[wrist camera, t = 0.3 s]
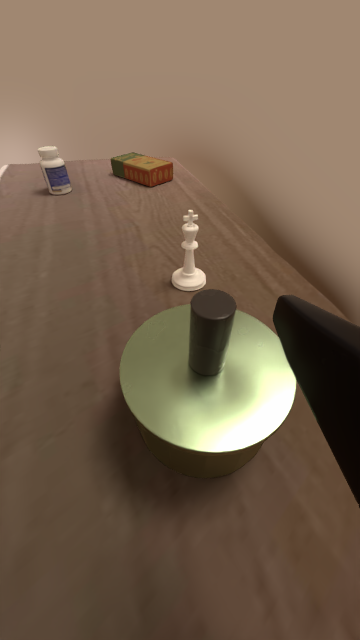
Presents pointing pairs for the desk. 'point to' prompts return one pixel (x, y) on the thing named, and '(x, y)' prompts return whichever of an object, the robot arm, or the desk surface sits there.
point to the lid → (207, 377)
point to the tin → (196, 459)
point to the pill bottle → (54, 171)
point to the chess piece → (189, 259)
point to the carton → (142, 169)
